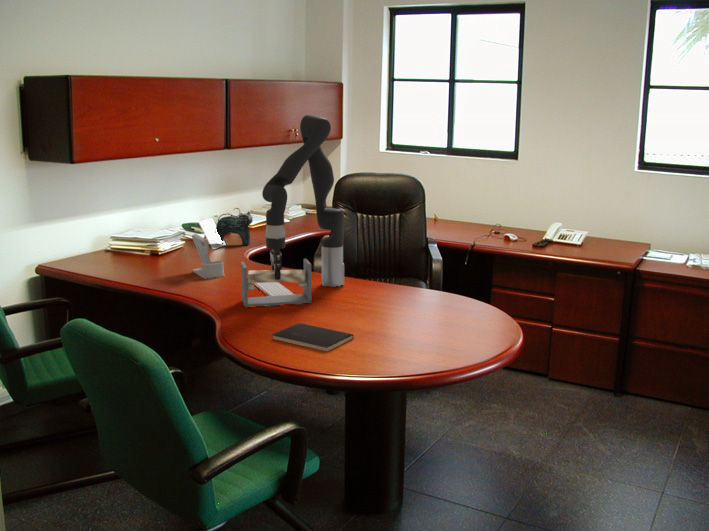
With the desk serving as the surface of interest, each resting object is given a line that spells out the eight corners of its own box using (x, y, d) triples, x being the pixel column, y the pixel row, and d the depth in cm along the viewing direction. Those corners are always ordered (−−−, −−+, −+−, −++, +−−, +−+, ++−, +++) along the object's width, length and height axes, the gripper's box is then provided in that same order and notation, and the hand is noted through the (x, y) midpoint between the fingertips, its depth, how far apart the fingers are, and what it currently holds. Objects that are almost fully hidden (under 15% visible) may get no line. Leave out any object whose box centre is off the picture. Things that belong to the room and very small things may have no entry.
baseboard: (266, 301, 312) (294, 297, 316) (266, 294, 311) (294, 291, 316) (244, 282, 339) (270, 280, 344) (244, 276, 338) (270, 273, 343)
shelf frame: (306, 296, 316) (306, 258, 312) (311, 303, 306) (311, 264, 303) (242, 300, 310) (240, 262, 306) (244, 307, 300) (243, 267, 296)
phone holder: (225, 276, 348) (224, 237, 344) (204, 279, 343) (202, 239, 339) (212, 268, 362) (211, 230, 358) (191, 271, 357) (189, 232, 353)
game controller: (253, 244, 415) (252, 207, 411) (249, 246, 409) (248, 209, 404) (218, 242, 419) (217, 206, 414) (214, 245, 413) (212, 208, 408)
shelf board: (304, 278, 310) (304, 269, 309) (304, 281, 304) (304, 273, 303) (249, 279, 308) (248, 270, 307) (248, 282, 302) (247, 274, 301)
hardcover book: (326, 353, 252) (326, 346, 252) (271, 340, 265) (271, 334, 264) (353, 340, 266) (353, 333, 265) (299, 328, 278) (299, 322, 277)
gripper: (263, 232, 308) (264, 273, 311) (268, 239, 294) (269, 282, 298) (282, 231, 309) (282, 272, 313) (288, 238, 296) (288, 281, 300)
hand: (276, 276), depth 306 cm, fingers closed on shelf board, 6 cm apart
